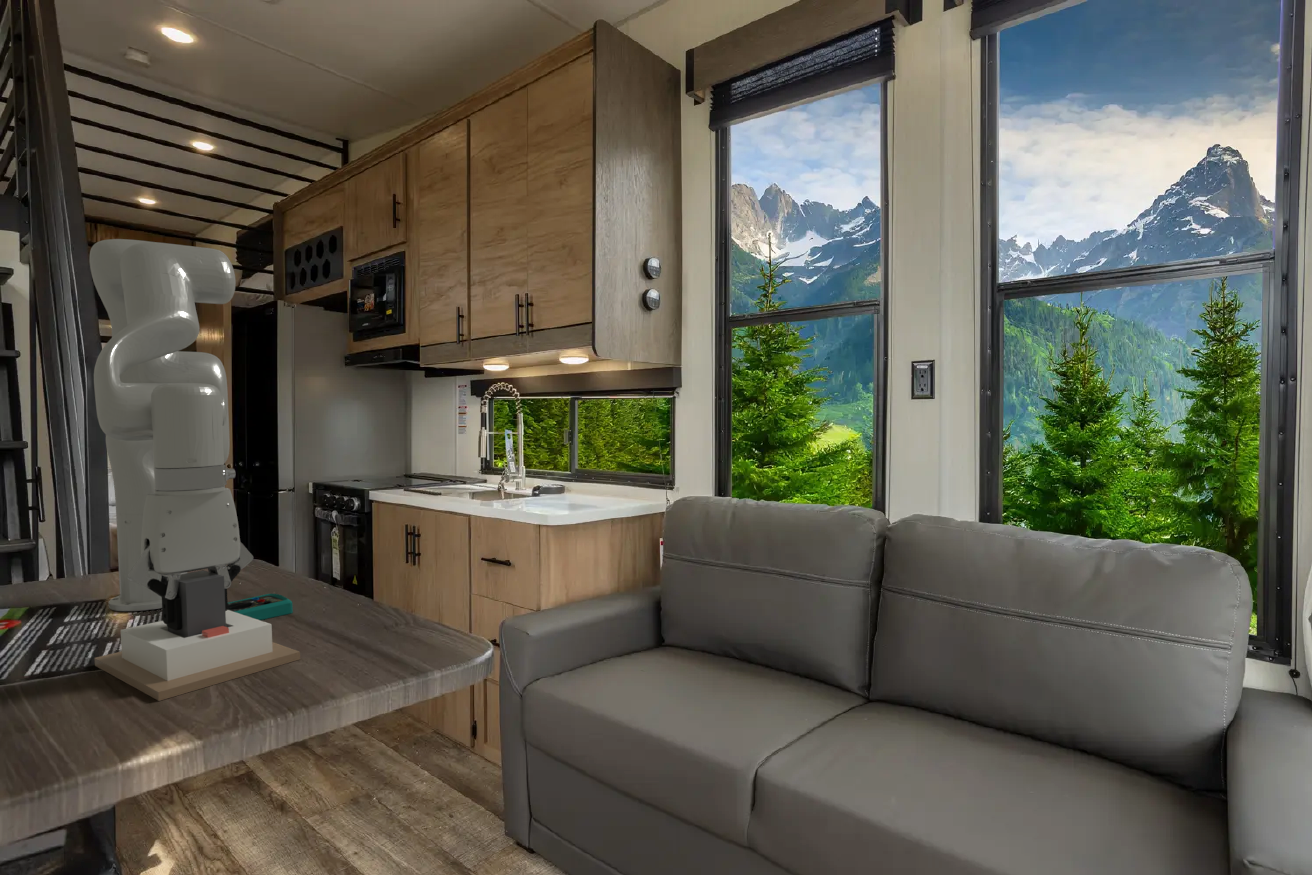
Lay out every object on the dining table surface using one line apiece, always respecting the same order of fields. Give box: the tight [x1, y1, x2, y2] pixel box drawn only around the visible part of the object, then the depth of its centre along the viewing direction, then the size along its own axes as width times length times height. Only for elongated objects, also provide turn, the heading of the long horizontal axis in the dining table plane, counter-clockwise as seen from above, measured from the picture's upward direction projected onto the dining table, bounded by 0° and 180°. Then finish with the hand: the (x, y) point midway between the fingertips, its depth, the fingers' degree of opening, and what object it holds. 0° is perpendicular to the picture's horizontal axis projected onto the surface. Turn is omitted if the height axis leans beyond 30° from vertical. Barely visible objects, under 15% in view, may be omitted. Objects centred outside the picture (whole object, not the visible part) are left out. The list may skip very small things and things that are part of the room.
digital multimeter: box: [228, 593, 294, 621], centre depth 112 cm, size 7×15×3 cm, turn 142°
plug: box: [168, 569, 226, 638], centre depth 93 cm, size 6×4×8 cm
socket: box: [94, 610, 301, 702], centre depth 93 cm, size 20×16×5 cm
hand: (196, 621), depth 93 cm, fingers closed on plug, 4 cm apart
